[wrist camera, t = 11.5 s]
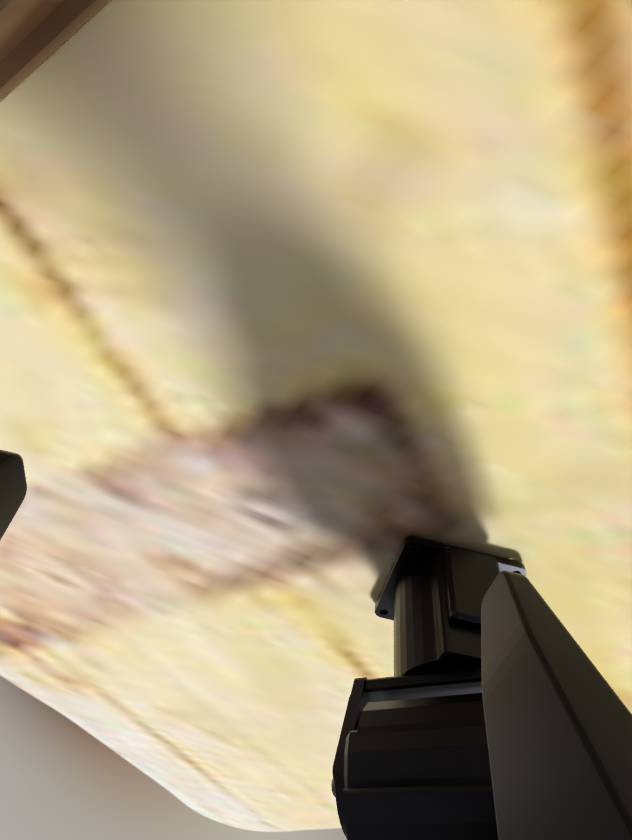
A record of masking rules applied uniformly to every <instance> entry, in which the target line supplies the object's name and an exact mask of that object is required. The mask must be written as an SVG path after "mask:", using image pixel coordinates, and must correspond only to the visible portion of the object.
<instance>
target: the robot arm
mask: <svg viewBox="0 0 632 840" xmlns="http://www.w3.org/2000/svg"><path fill="white" fill-rule="evenodd" d="M26 491H27V484H26V477H25V471H24V464H23V459H22V457H21V456H20V455H19V454H17V453H12V452H8V451H4V450H0V540H1V538H2V536H3V535H4V533H5V531H6V530H7V528H8V526H9V524H10V523H11V521H12V519H13V517H14V516H15V514H16V512H17V510H18V509H19V507H20V505H21V504H22V502H23V500H24V498H25V495H26ZM411 546H415V547H411ZM525 576H526V571H525V567H524V565H523V564H522V563H520V562H517V561H513V560H509V559H505V558H501V557H497V556H493V555H488V554H484V553H480V552H476V551H472V550H468V549H464V548H459V547H455V546H451V545H447V544H443V543H439V542H434V541H430V540H426V539H422V538H418V537H408V538H406V539H405V540H404V542H403V544H402V546H401V549H400V551H399V553H398V555H397V557H396V560H395V562H394V564H393V566H392V569H391V571H390V573H389V575H388V578H387V580H386V582H385V584H384V586H383V589H382V591H381V593H380V595H379V598H378V600H377V602H376V604H375V613H376V615H377V616H379V617H382V618H386V619H390V620H394V677H386V678H376V679H367V678H366V677H365V678H356V679H355V680H354V684H353V688H352V692H351V695H350V697H349V701H348V706H347V710H346V714H345V718H344V722H343V726H342V731H341V735H340V739H339V743H338V747H337V752H336V756H335V760H334V764H333V779H332V792H333V795H334V796H335V797H336V803H337V810H338V815H339V819H340V824H341V826H342V829H343V832H344V834H345V836H346V838H347V840H632V714H631V713H630V711H629V710H628V709H627V708H626V706H625V705H624V704H623V702H622V701H621V700H620V698H619V697H618V696H617V695H616V693H615V692H614V691H613V689H612V688H611V687H610V685H609V684H608V683H607V681H606V680H605V679H604V678H603V676H602V675H601V674H600V672H599V671H598V670H597V668H596V667H595V666H594V665H593V663H592V662H591V661H590V659H589V658H588V657H587V655H586V654H585V653H584V652H583V650H582V649H581V648H580V646H579V645H578V644H577V642H576V641H575V640H574V638H573V637H572V636H571V635H570V633H569V632H568V631H567V629H566V628H565V627H564V625H563V624H562V623H561V622H560V620H559V619H558V618H557V616H556V615H555V614H554V612H553V611H552V610H551V609H550V607H549V606H548V605H547V603H546V602H545V601H544V599H543V598H542V597H541V595H540V594H539V593H538V592H537V590H536V589H535V588H534V586H533V585H532V584H531V582H530V581H529V580H528V579H527V578H526V577H525Z"/></svg>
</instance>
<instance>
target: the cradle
mask: <svg viewBox="0 0 632 840" xmlns="http://www.w3.org/2000/svg"><path fill="white" fill-rule="evenodd" d="M110 1H111V0H0V101H1V100H3V99H4V98H5V97H6V96H7V95H8V94H9V93H10V92H11V91H12V90H14V89H15V88H16V87H17V86H18V85H19V84H20V83H21V82H22V81H23V80H24V79H26V78H27V77H28V76H29V75H30V74H31V73H32V72H33V71H34V70H35V69H36V68H38V67H39V66H40V65H41V64H42V63H43V62H44V61H45V60H46V59H47V58H48V57H50V56H51V55H52V54H53V53H54V52H55V51H56V50H57V49H58V48H59V47H60V46H62V45H63V44H64V43H65V42H66V41H67V40H68V39H69V38H70V37H71V36H73V35H74V34H75V33H76V32H77V31H78V30H79V29H80V28H81V27H82V26H83V25H85V24H86V23H87V22H88V21H89V20H90V19H91V18H92V17H93V16H94V15H95V14H97V13H98V12H99V11H100V10H101V9H102V8H103V7H104V6H105V5H106V4H107V3H109V2H110Z"/></svg>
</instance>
